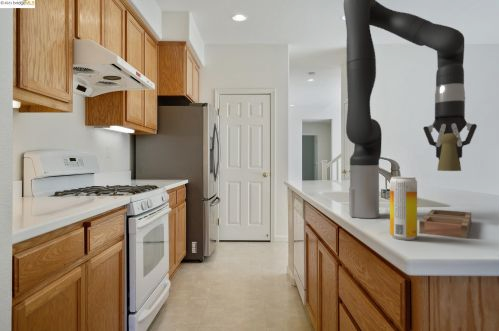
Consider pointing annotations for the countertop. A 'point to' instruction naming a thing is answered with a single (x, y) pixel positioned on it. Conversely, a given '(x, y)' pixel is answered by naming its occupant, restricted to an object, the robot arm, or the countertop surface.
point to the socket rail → (446, 223)
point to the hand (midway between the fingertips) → (449, 159)
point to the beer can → (403, 207)
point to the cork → (449, 153)
